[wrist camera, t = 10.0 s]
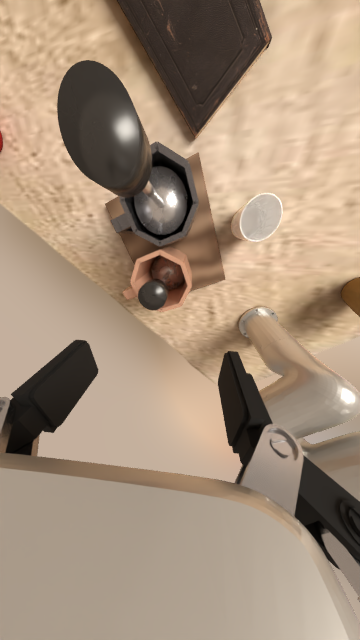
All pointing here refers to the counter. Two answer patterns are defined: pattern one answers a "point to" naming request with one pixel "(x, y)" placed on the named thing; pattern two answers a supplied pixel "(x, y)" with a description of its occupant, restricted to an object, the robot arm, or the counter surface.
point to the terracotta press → (144, 274)
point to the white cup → (257, 218)
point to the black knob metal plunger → (160, 283)
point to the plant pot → (352, 295)
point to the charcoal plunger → (116, 146)
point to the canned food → (1, 142)
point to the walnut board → (195, 246)
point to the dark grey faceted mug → (181, 167)
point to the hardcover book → (200, 48)
